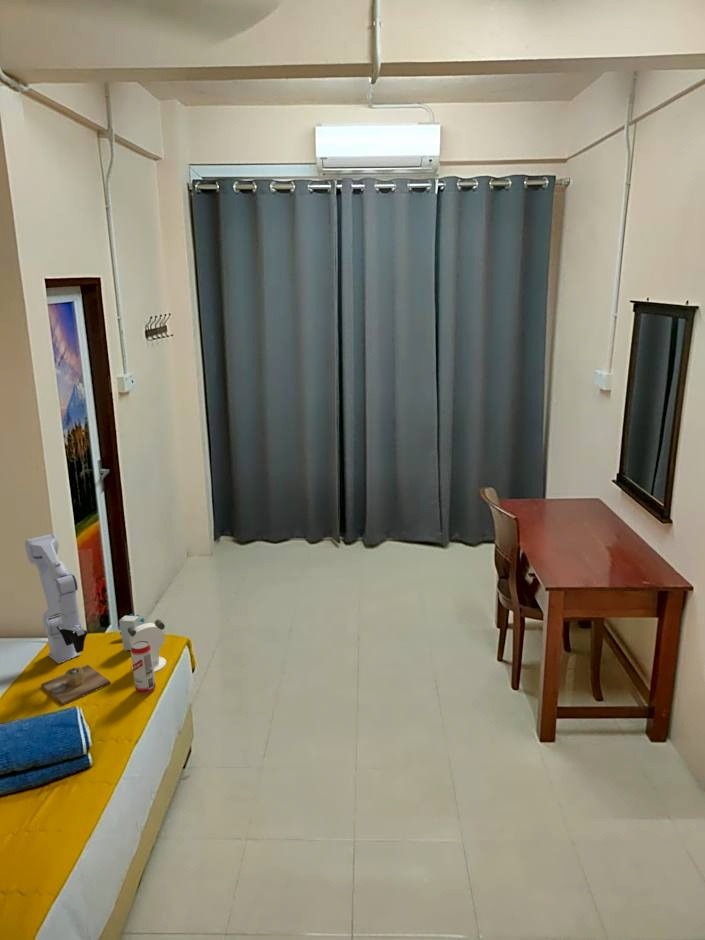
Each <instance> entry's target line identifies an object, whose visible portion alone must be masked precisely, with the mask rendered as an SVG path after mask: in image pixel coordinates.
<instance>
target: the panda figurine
mask: <svg viewBox="0 0 705 940" xmlns="http://www.w3.org/2000/svg"><path fill="white" fill-rule="evenodd" d="M141 624H142V625H139V626H137V627H135V628H133V627H129V628H128V633H129V634H130V639H129V641H130V645H131V646H132V645H133V644H134V643H136V642H138V641H147V642H148V643H149V645H150V647H151V651H152V659H153V668H154V673H156V672H159V671H161V670H162V669H164V668H165V666H166V665H167V660H166V658H164V657H162V656H160V649H161V648H162V646H163V645H164V643H165V641H166V635H165V633H164V631H163V630H164V629H165V627H166V626H165V624H164V623H163V621H162V620H161V619H156V620H155V621H154V623H153V622H148V623H147V622H146V623H141ZM131 670H132V671H133V666H132V667H131Z"/></svg>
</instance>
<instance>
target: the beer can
mask: <svg viewBox="0 0 705 940" xmlns="http://www.w3.org/2000/svg"><path fill="white" fill-rule="evenodd" d="M130 655H131V656H130V657H131V664H132V666H133V670H132V672H133V673H132V674H133V680H134V681H133V682H134V688H135V691H136V693H138V694H141V695H142V694H143V695H145V694H150V693H152V692H153V691H154V690H155V688H156V678H155V677H156V676H155V672H154V668H153V659H152V651H151V647H150V645H149V643H148V642H147V641H138V642H136V643H134V644H133V645H132V649H131V651H130Z"/></svg>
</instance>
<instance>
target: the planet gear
mask: <svg viewBox="0 0 705 940" xmlns="http://www.w3.org/2000/svg"><path fill="white" fill-rule="evenodd" d="M72 671H76V672H77V673H75V674H72ZM64 674H65V676H66V683H67V685H68V686H69V687H77V686H79V685H81V684H83V682H84V681H85V679H84V672H83V669H82V668H81V667H72V668H70V669H68V670H66V672H65V673H64Z"/></svg>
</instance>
